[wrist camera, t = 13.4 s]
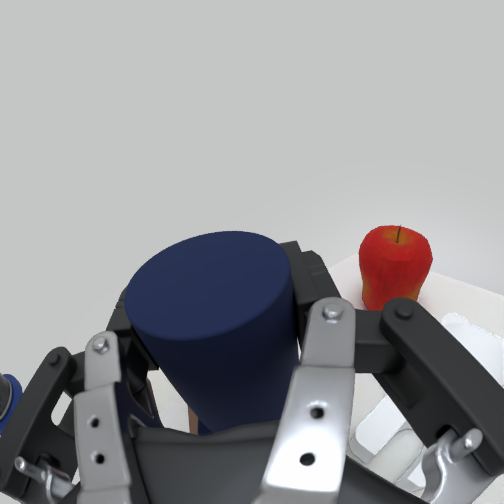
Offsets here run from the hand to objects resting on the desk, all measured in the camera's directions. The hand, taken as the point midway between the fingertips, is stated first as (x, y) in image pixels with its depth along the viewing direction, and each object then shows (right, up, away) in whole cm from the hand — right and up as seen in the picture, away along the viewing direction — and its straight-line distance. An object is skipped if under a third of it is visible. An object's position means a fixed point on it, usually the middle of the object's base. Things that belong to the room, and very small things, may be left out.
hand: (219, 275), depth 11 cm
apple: (+19, -6, +20) cm, 28 cm away
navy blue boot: (+1, -7, +4) cm, 8 cm away
